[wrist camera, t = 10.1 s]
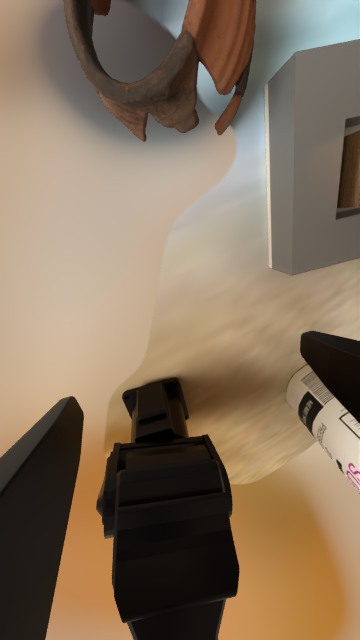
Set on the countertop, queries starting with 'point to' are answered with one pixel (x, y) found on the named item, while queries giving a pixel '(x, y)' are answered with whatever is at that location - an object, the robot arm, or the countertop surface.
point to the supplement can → (327, 421)
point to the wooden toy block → (350, 172)
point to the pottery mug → (173, 64)
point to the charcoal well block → (311, 158)
